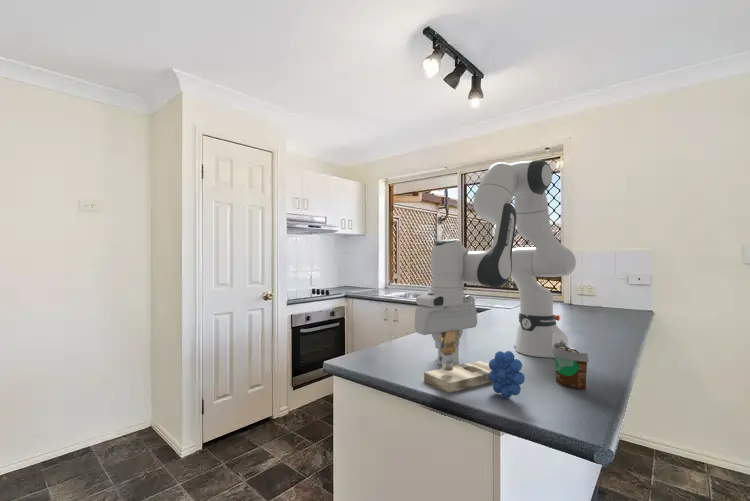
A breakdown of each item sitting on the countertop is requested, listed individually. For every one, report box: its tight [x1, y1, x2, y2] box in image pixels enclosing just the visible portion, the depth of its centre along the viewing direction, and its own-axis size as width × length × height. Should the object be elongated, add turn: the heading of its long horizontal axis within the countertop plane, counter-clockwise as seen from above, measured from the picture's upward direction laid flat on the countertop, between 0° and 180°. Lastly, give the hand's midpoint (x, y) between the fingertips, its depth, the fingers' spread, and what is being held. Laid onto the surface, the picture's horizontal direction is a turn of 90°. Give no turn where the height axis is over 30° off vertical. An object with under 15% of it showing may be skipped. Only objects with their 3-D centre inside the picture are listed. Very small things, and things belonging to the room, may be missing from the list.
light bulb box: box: [437, 344, 460, 366], centre depth 118 cm, size 11×7×11 cm, turn 168°
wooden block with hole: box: [423, 360, 493, 394], centre depth 100 cm, size 22×10×3 cm, turn 120°
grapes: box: [488, 350, 526, 399], centre depth 88 cm, size 12×7×12 cm, turn 22°
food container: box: [551, 343, 589, 391], centre depth 98 cm, size 12×6×10 cm, turn 178°
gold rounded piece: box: [439, 330, 456, 371], centre depth 97 cm, size 4×4×11 cm
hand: (447, 346), depth 97 cm, fingers closed on gold rounded piece, 4 cm apart
